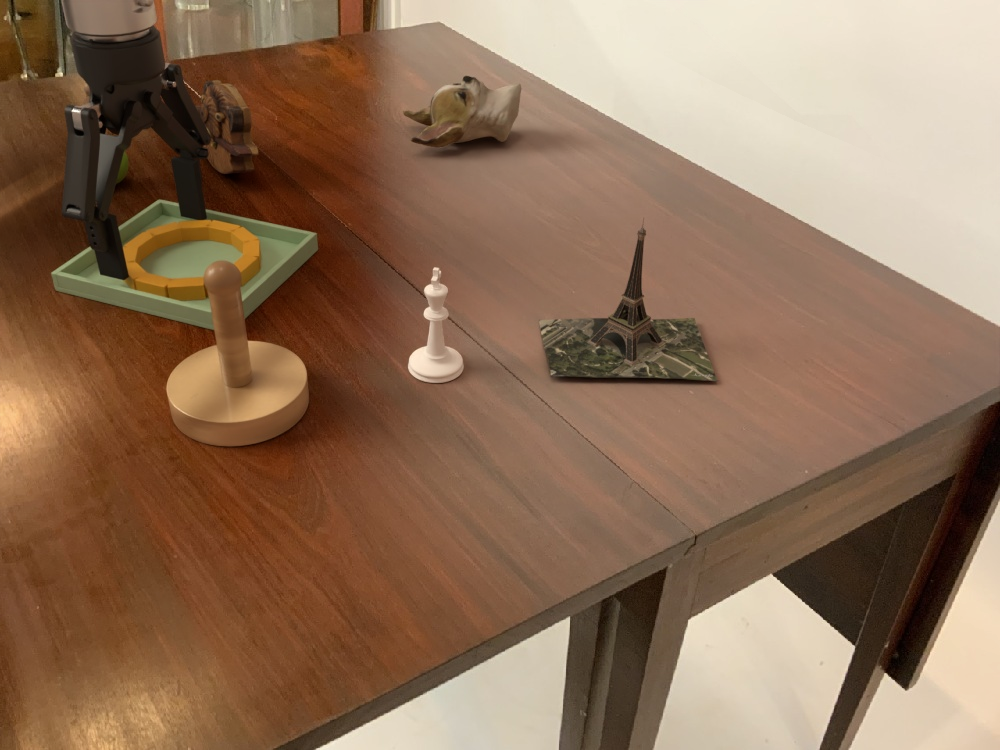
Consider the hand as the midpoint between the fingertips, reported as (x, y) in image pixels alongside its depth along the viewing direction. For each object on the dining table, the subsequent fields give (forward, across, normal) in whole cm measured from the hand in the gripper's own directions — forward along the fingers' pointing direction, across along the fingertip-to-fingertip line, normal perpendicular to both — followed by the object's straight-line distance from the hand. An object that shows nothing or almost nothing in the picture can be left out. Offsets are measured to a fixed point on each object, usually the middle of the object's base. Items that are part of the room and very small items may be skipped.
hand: (156, 245), depth 98 cm
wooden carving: (+2, +22, +6) cm, 23 cm away
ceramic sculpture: (+2, +42, -17) cm, 45 cm away
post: (+2, -17, -20) cm, 26 cm away
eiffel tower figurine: (+2, +3, -48) cm, 48 cm away
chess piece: (+2, -6, -33) cm, 34 cm away
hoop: (+1, 0, -4) cm, 4 cm away
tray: (+2, 0, -4) cm, 4 cm away
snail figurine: (+2, +13, +16) cm, 21 cm away
